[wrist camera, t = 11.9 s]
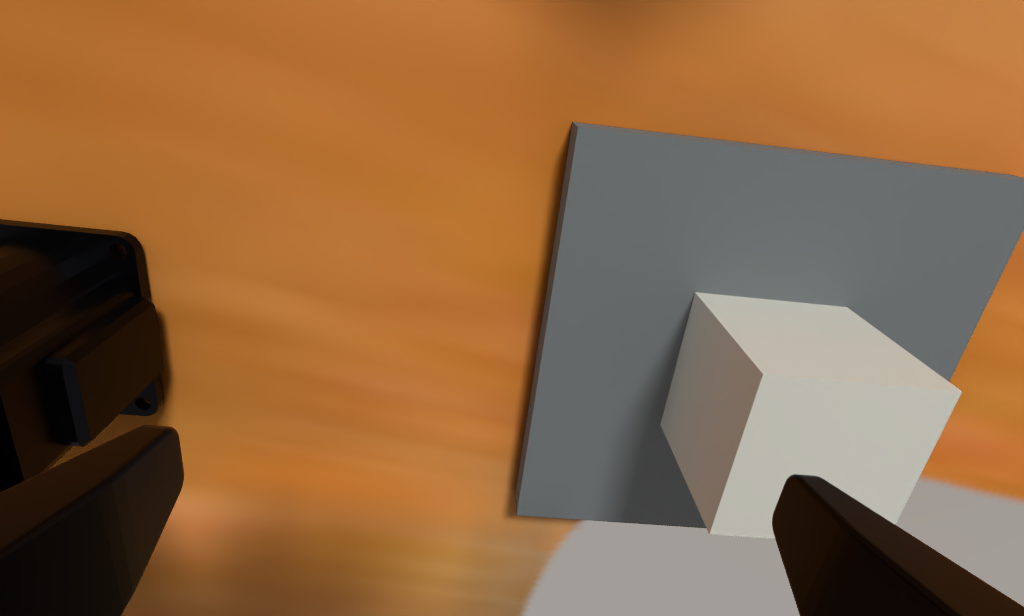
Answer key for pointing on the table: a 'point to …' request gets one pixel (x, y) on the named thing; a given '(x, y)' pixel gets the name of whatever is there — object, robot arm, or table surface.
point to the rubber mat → (730, 288)
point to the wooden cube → (796, 409)
